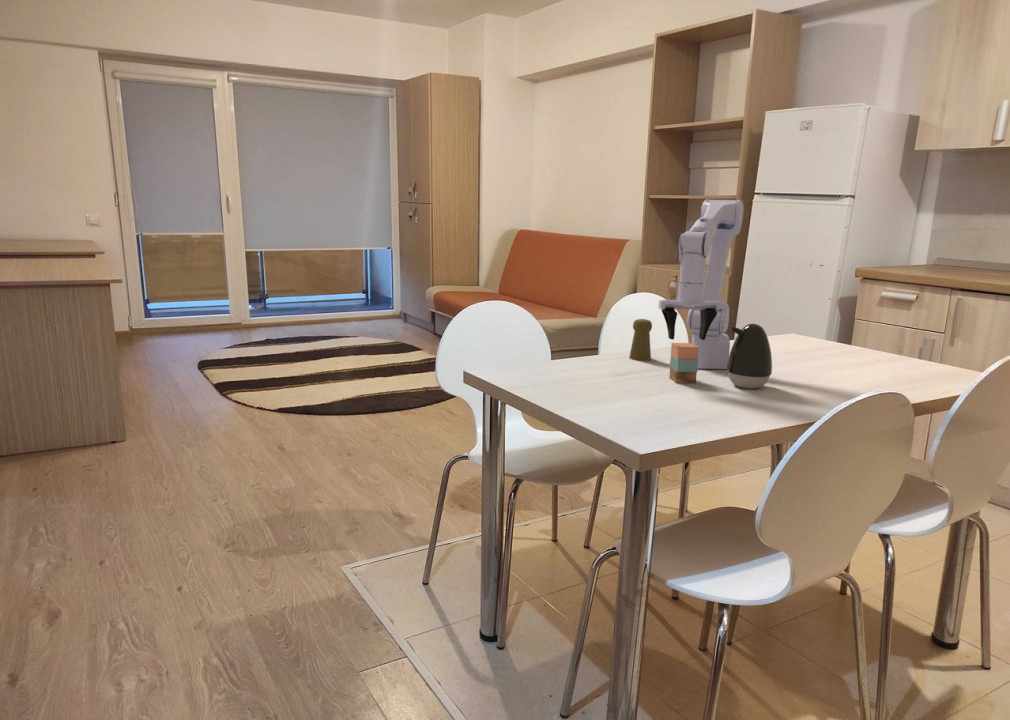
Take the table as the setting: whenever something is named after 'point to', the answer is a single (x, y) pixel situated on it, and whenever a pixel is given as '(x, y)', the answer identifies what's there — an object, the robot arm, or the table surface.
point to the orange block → (684, 351)
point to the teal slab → (684, 364)
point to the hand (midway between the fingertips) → (686, 338)
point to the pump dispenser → (750, 358)
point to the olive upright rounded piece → (641, 340)
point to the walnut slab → (682, 376)
